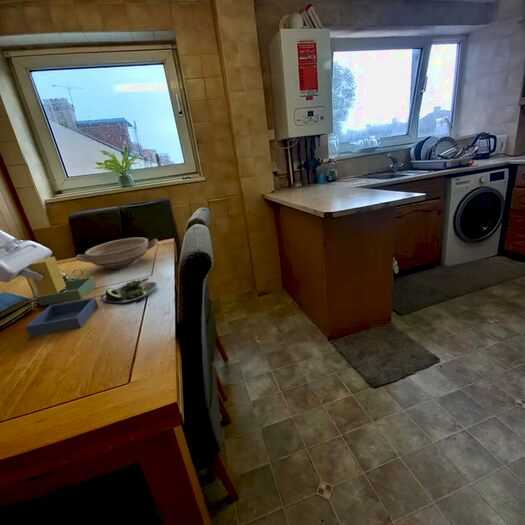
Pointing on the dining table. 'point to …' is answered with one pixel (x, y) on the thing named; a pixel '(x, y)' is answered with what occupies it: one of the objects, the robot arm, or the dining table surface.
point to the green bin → (70, 291)
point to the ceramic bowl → (117, 252)
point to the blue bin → (62, 317)
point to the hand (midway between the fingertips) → (49, 274)
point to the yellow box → (48, 276)
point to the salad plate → (129, 292)
